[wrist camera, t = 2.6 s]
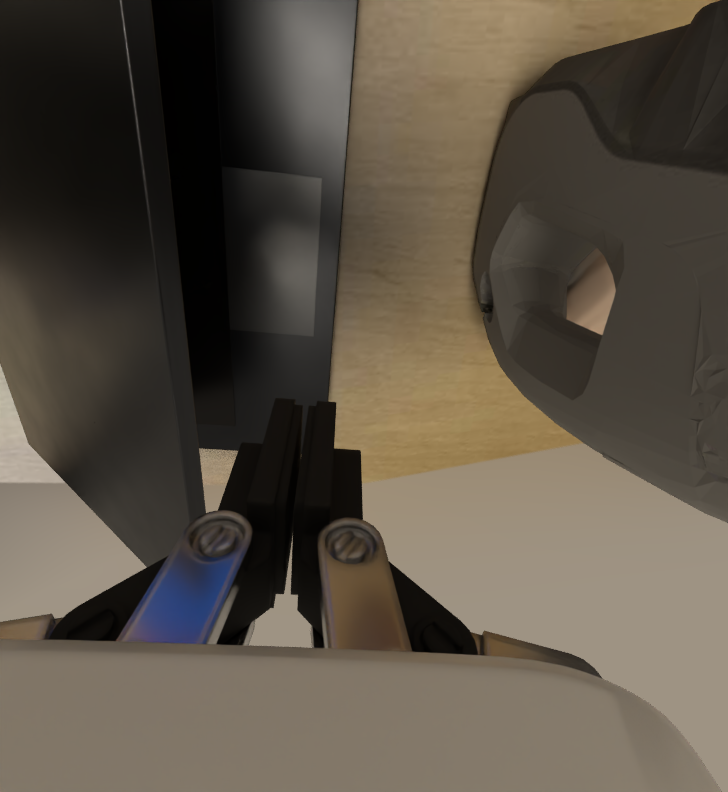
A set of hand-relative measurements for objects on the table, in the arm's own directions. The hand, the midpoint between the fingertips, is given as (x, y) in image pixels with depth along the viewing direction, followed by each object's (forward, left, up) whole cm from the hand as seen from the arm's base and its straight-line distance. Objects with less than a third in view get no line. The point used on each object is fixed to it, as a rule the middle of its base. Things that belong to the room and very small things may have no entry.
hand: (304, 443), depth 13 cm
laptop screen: (0, -12, -11) cm, 16 cm away
